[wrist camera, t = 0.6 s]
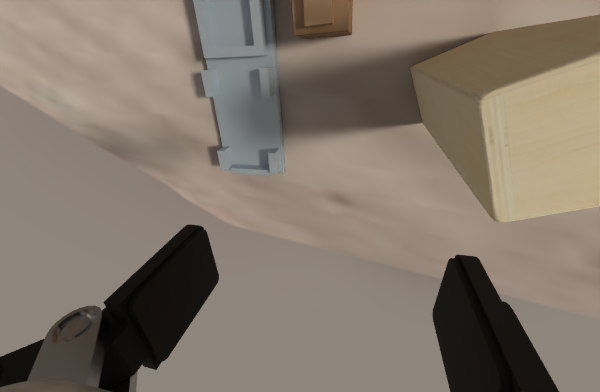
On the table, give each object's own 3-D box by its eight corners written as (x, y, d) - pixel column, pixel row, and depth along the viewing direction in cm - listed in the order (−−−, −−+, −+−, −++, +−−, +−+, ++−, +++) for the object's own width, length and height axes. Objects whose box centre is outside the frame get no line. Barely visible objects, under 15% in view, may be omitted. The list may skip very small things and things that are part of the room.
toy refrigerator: (421, 130, 30) (497, 237, 12) (407, 67, 28) (476, 90, 10) (500, 104, 27) (750, 197, 9) (492, 31, 25) (819, -32, 7)
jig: (196, -17, 28) (179, -24, 26) (271, -27, 26) (260, -36, 24) (230, 167, 39) (220, 175, 37) (285, 170, 37) (279, 179, 35)
